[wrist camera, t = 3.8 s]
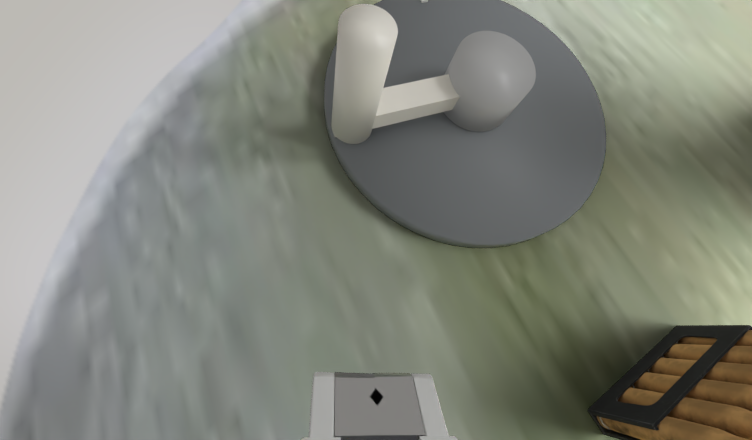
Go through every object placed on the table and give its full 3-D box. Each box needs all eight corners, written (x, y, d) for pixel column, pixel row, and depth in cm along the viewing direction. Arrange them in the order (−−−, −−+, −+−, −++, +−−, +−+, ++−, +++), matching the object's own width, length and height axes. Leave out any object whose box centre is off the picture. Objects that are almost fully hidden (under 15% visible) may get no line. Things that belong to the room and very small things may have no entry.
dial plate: (520, -13, 37) (529, -29, 35) (641, 199, 31) (659, 191, 29) (287, 23, 31) (285, 6, 29) (384, 292, 25) (389, 289, 23)
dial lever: (489, 63, 31) (558, -46, 22) (519, 122, 29) (606, 32, 20) (319, 98, 27) (321, -15, 18) (345, 168, 26) (360, 82, 17)
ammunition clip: (677, 324, 28) (923, 318, 17) (694, 345, 28) (955, 354, 16) (586, 410, 25) (811, 474, 14) (603, 435, 25) (848, 522, 13)
